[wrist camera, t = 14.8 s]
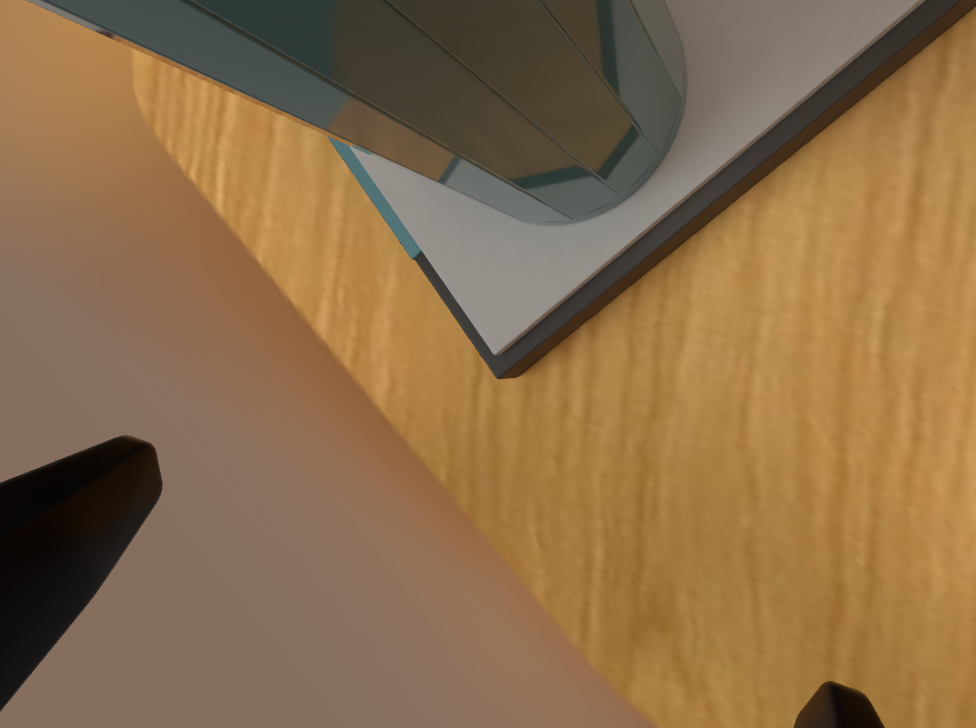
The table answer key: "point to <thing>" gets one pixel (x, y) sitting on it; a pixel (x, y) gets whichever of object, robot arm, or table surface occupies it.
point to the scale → (675, 183)
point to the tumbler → (444, 85)
